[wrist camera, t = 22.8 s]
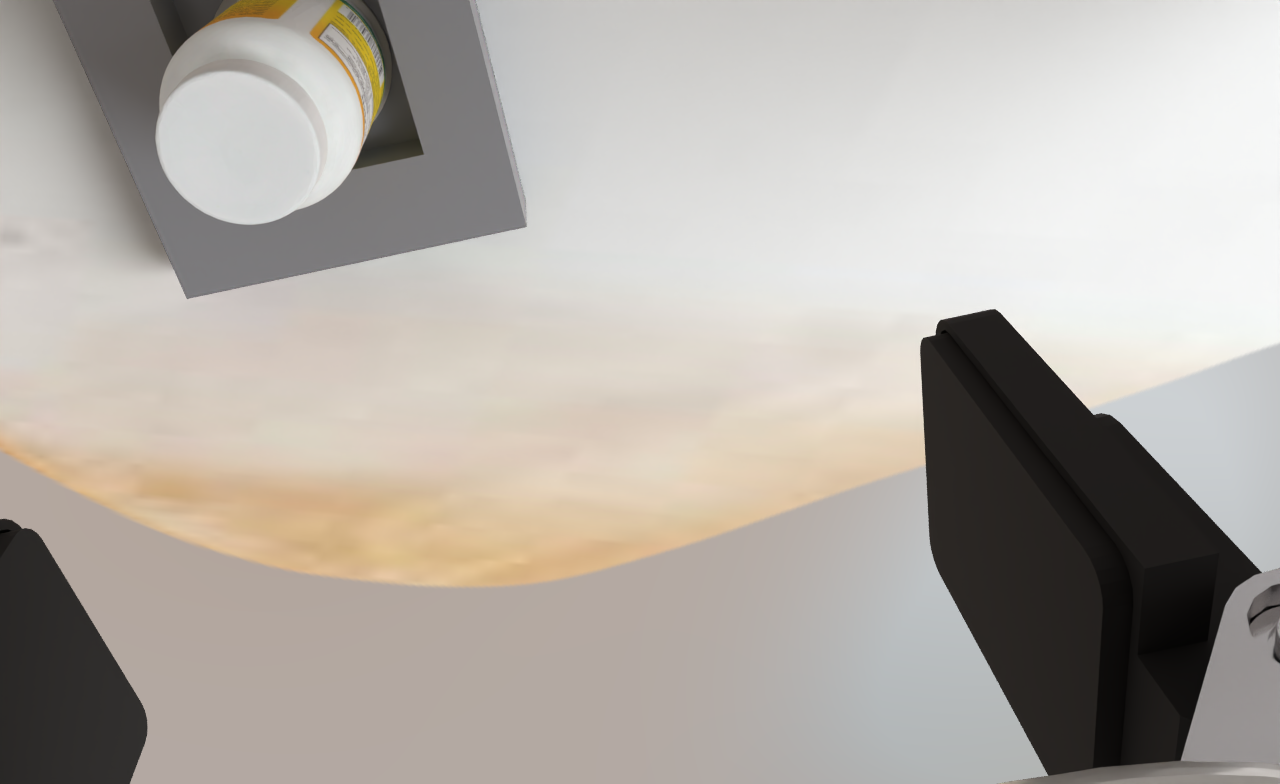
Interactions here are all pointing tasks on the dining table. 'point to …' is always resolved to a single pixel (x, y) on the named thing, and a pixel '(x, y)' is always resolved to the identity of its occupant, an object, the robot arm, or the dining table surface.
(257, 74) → the supplement bottle
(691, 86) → the dining table surface
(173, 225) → the block
